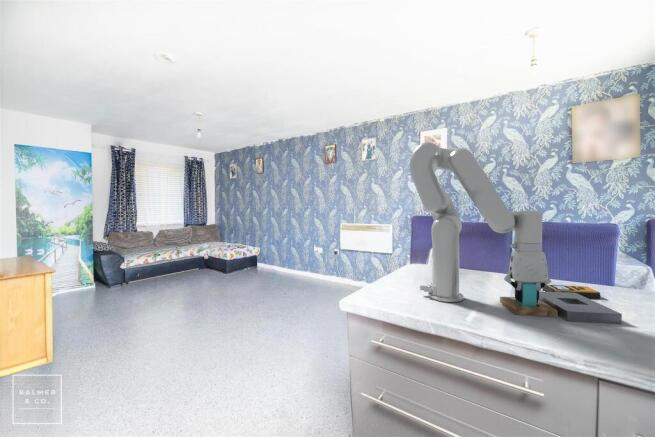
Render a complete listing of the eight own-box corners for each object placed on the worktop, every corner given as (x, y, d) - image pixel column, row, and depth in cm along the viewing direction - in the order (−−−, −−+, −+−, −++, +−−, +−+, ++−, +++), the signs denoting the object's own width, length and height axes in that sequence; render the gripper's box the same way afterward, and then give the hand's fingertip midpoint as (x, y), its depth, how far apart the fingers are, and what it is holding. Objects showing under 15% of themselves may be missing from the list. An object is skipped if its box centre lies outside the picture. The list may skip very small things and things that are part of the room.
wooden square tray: (515, 314, 91) (515, 308, 91) (499, 302, 103) (499, 296, 103) (557, 316, 89) (557, 310, 89) (536, 303, 101) (536, 298, 101)
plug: (522, 310, 94) (523, 284, 94) (517, 306, 98) (517, 280, 98) (536, 311, 94) (536, 284, 93) (529, 307, 98) (530, 281, 97)
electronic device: (601, 301, 104) (602, 292, 104) (552, 297, 108) (552, 289, 108) (587, 293, 112) (587, 285, 112) (541, 290, 116) (542, 282, 116)
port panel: (567, 321, 86) (567, 311, 86) (532, 299, 105) (532, 291, 105) (621, 323, 83) (621, 313, 83) (575, 300, 103) (575, 292, 103)
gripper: (505, 249, 93) (504, 304, 94) (563, 249, 90) (561, 306, 91) (496, 245, 100) (495, 296, 101) (549, 246, 97) (547, 298, 98)
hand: (526, 300), depth 96 cm, fingers closed on plug, 4 cm apart
